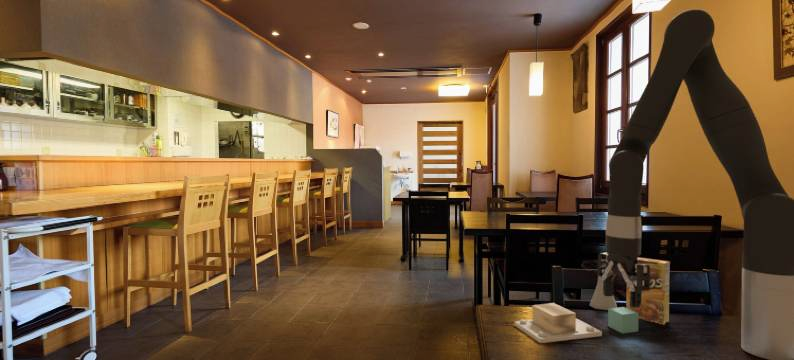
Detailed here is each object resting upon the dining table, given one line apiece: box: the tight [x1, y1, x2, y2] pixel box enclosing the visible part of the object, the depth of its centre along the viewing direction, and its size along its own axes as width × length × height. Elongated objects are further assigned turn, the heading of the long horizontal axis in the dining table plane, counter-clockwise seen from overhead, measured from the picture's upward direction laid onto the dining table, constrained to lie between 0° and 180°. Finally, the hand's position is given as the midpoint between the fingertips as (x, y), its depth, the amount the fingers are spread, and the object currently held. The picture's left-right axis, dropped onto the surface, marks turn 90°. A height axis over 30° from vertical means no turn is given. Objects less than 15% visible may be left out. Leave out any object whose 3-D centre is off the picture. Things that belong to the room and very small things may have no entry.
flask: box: [589, 269, 618, 311], centre depth 118 cm, size 7×7×10 cm
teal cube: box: [607, 306, 639, 334], centre depth 102 cm, size 4×4×4 cm
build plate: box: [514, 318, 603, 344], centre depth 101 cm, size 16×11×2 cm
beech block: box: [531, 302, 577, 334], centre depth 101 cm, size 6×8×4 cm
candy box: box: [625, 256, 671, 326], centre depth 108 cm, size 9×4×15 cm, turn 43°
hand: (621, 301), depth 102 cm, fingers open, 8 cm apart
